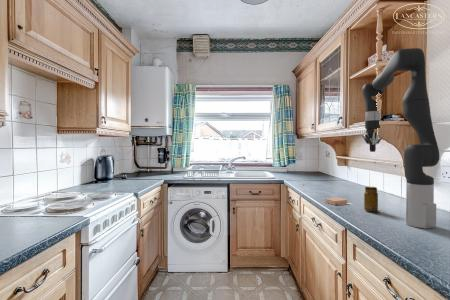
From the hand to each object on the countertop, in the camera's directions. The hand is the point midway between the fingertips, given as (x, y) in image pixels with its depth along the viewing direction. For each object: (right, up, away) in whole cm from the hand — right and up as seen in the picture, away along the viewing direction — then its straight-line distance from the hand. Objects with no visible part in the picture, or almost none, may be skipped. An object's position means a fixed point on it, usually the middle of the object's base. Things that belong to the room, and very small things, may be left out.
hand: (372, 151), depth 151 cm
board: (-16, -29, +3) cm, 34 cm away
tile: (-15, -28, +4) cm, 31 cm away
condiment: (-8, -30, -15) cm, 34 cm away
